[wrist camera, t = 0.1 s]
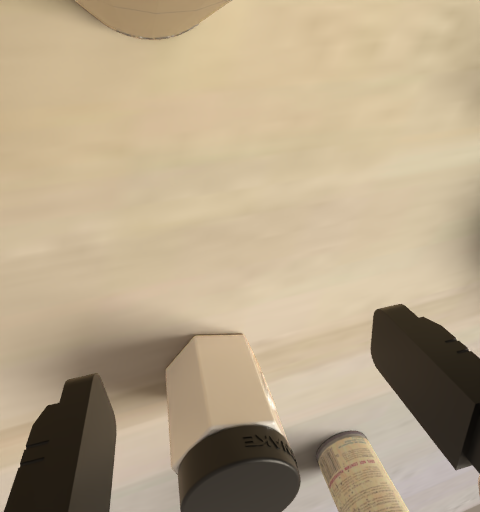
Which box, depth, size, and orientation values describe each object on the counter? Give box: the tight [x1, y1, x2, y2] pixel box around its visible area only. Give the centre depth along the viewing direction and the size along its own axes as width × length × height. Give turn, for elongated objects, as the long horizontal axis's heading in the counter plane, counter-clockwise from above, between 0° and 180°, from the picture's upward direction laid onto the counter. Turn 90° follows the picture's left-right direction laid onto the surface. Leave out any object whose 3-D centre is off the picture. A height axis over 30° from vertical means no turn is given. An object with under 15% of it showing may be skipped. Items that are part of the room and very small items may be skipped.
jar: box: [165, 335, 301, 512], centre depth 29 cm, size 9×8×12 cm
